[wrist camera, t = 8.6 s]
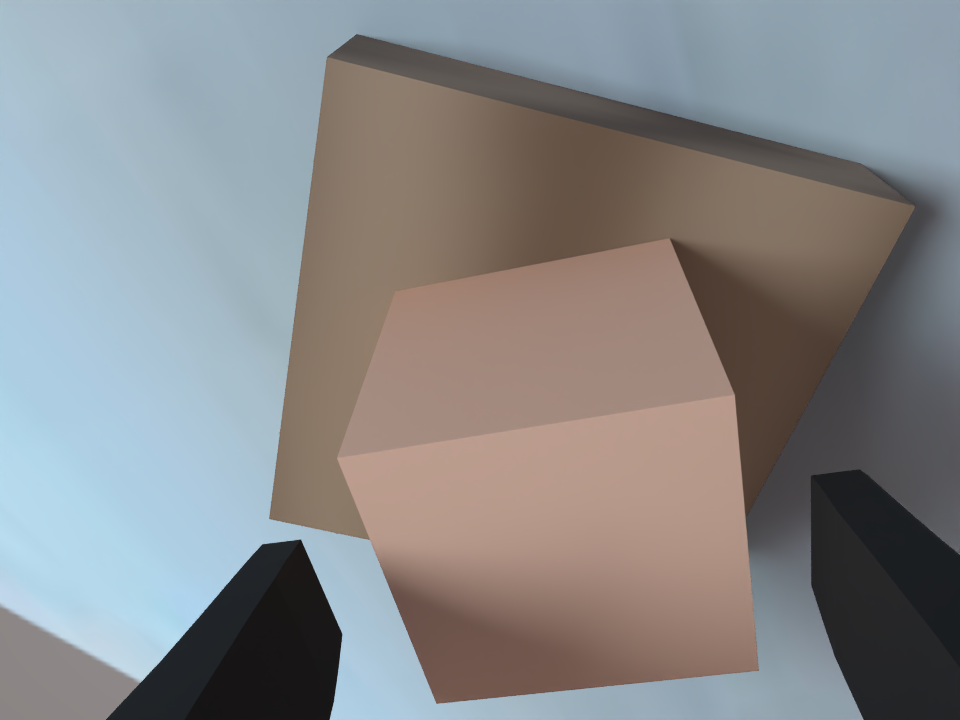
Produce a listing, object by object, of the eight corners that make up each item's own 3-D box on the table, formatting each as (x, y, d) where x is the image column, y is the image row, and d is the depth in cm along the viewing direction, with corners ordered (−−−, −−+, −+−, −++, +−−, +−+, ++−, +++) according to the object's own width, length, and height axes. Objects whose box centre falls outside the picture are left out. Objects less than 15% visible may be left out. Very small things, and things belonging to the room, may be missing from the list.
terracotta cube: (669, 238, 13) (735, 394, 9) (696, 463, 16) (758, 670, 12) (395, 291, 14) (337, 458, 10) (460, 497, 17) (436, 703, 12)
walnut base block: (850, 156, 16) (916, 206, 13) (675, 520, 21) (696, 607, 18) (361, 30, 15) (327, 56, 12) (302, 439, 20) (269, 519, 17)
